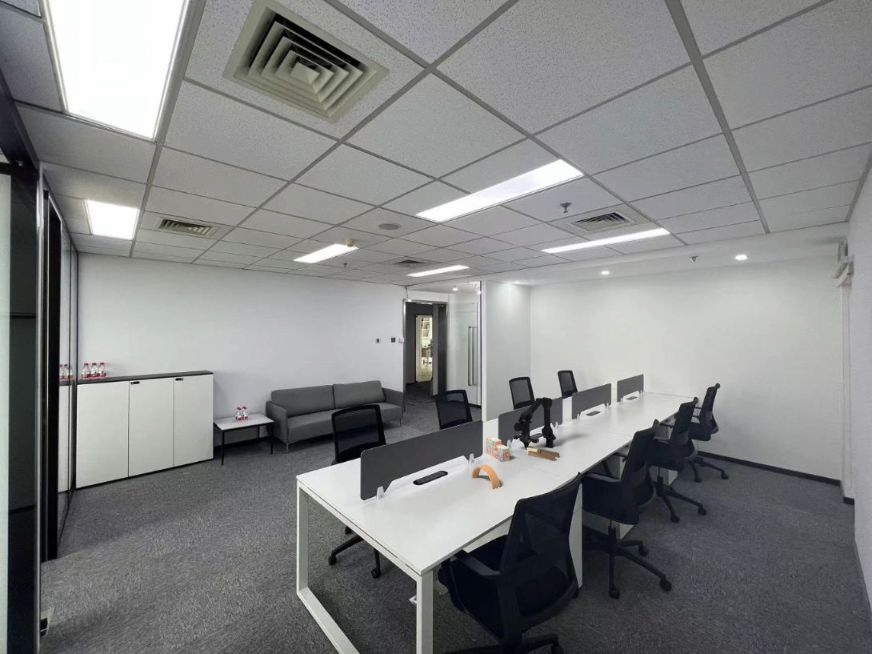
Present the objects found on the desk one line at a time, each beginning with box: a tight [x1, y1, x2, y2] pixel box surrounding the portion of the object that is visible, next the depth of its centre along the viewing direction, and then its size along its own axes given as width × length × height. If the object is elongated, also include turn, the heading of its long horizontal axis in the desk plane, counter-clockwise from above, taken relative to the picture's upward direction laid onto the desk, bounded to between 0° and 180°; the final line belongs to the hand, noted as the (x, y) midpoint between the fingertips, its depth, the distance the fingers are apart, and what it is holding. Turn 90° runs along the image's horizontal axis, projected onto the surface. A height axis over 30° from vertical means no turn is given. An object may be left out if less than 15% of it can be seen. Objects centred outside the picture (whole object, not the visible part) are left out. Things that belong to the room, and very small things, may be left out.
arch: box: [471, 464, 501, 490], centre depth 216 cm, size 6×20×10 cm, turn 33°
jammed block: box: [526, 445, 541, 455], centre depth 265 cm, size 6×8×4 cm
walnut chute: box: [527, 448, 560, 462], centre depth 260 cm, size 10×20×3 cm, turn 52°
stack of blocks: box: [485, 436, 510, 463], centre depth 260 cm, size 21×6×12 cm, turn 25°
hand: (526, 449), depth 268 cm, fingers closed
